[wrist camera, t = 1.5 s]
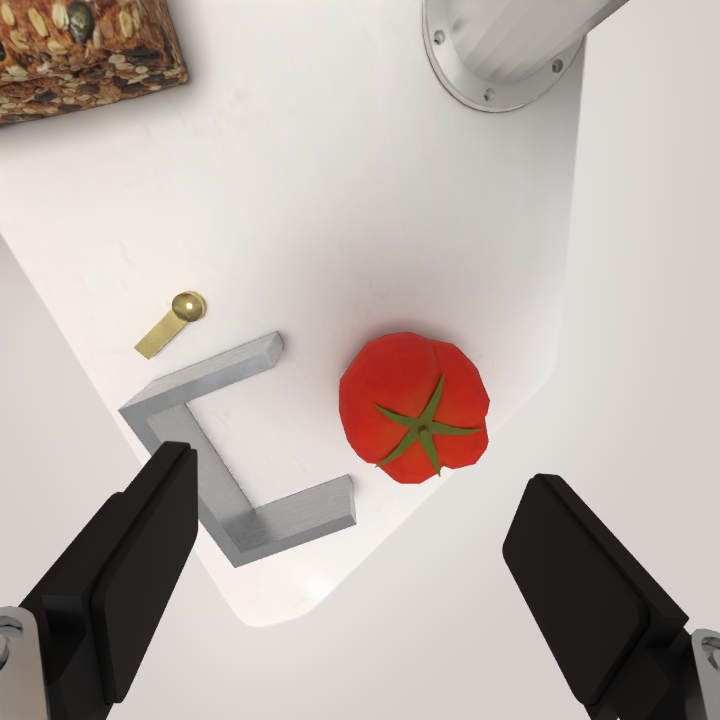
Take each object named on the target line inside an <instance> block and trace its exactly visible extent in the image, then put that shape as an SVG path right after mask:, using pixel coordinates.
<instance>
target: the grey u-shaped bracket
mask: <svg viewBox="0 0 720 720" xmlns="http://www.w3.org/2000/svg"><path fill="white" fill-rule="evenodd" d="M283 346H284V343H283V341H282V339H281V337H280V335H279V333H278V331H276V332H274V333H271V334H269V335H267V336H264V337H262V338H259V339H257V340H254V341H252V342H249V343H247V344H244V345H242V346H239V347H237V348H234V349H232V350H229V351H227V352H224V353H222V354H219V355H217V356H214V357H212V358H209V359H207V360H204V361H202V362H199V363H197V364H194V365H192V366H189V367H187V368H184V369H182V370H179V371H177V372H174V373H172V374H169V375H167V376H164V377H162V378H159V379H157V380H154V381H152V382H151V383H150V384H149V385H148V386H146V387H145V388H144V389H143V390H142V391H140V392H139V393H138V394H137V395H135V396H134V397H133V398H132V399H131V400H129V401H128V402H127V403H126V404H125V405H123V406H122V407H121V408H120V409H119V410H118V411H119V413H120V414H121V415H122V417H123V418H124V419H125V421H126V422H127V423H128V425H129V426H130V427H131V429H132V430H133V431H134V433H135V434H136V435H137V437H138V438H139V440H140V441H141V442H142V444H143V445H144V446H145V448H146V449H147V450H148V452H149V453H150V454H151V456H153V455H154V453H155V452H156V451H157V450H158V448H159V447H160V446H161V445H162V443H163V442H164V441H176V442H187V443H190V445H191V449H196V450H197V453H198V519H199V520H200V522H201V523H202V524H203V526H204V527H205V529H206V530H207V531H208V533H209V534H210V535H211V537H212V538H213V539H214V541H215V542H216V543H217V545H218V546H219V547H220V549H221V550H222V551H223V553H224V554H225V555H226V557H227V558H228V560H229V561H230V562H231V564H232V565H233V566H234V568H236V567H239V566H242V565H245V564H248V563H250V562H253V561H256V560H259V559H262V558H264V557H267V556H270V555H273V554H275V553H278V552H281V551H284V550H287V549H289V548H292V547H295V546H298V545H301V544H303V543H306V542H309V541H312V540H314V539H317V538H320V537H323V536H326V535H328V534H331V533H334V532H337V531H339V530H342V529H345V528H348V527H351V526H353V525H356V513H355V501H354V489H353V483H352V481H351V479H350V477H349V475H345V476H342V477H340V478H337V479H334V480H331V481H329V482H326V483H323V484H321V485H318V486H315V487H313V488H310V489H307V490H304V491H302V492H299V493H296V494H294V495H291V496H288V497H285V498H283V499H280V500H277V501H275V502H272V503H269V504H266V505H264V506H261V507H258V508H256V509H253V507H252V506H251V504H250V503H249V501H248V500H247V498H246V497H245V495H244V494H243V492H242V491H241V489H240V487H239V486H238V484H237V483H236V481H235V480H234V478H233V477H232V475H231V474H230V472H229V471H228V469H227V468H226V466H225V465H224V463H223V461H222V460H221V458H220V457H219V455H218V454H217V452H216V451H215V449H214V448H213V446H212V445H211V443H210V442H209V440H208V439H207V437H206V435H205V434H204V432H203V431H202V429H201V428H200V426H199V425H198V423H197V422H196V420H195V419H194V417H193V416H192V414H191V412H190V411H189V409H188V408H187V406H186V405H185V402H187V401H190V400H192V399H195V398H197V397H200V396H202V395H205V394H207V393H210V392H213V391H215V390H218V389H220V388H223V387H225V386H228V385H230V384H233V383H235V382H238V381H240V380H243V379H245V378H248V377H251V376H253V375H256V374H258V373H261V372H263V371H266V370H268V369H271V368H273V367H275V365H276V363H277V360H278V358H279V356H280V353H281V351H282V349H283Z"/></svg>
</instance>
